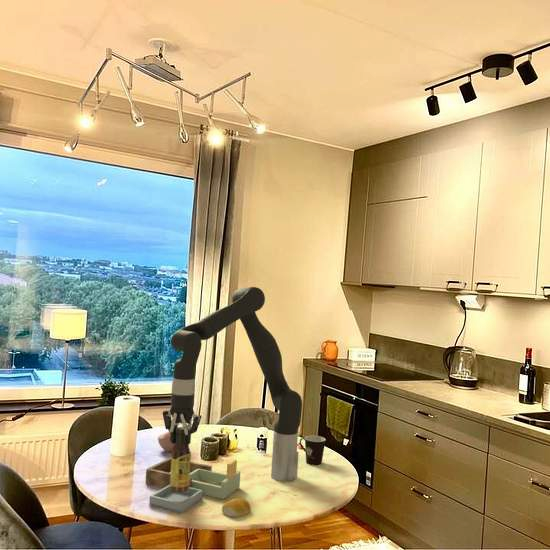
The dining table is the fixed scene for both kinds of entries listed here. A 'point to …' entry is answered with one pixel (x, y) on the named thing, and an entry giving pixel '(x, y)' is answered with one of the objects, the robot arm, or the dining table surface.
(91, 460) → the dining table surface
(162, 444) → the pinkish brown apple
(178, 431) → the sauce bottle
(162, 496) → the tray
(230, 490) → the caddy
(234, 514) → the bread roll
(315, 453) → the coffee mug
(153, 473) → the walnut bay
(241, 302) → the robot arm
